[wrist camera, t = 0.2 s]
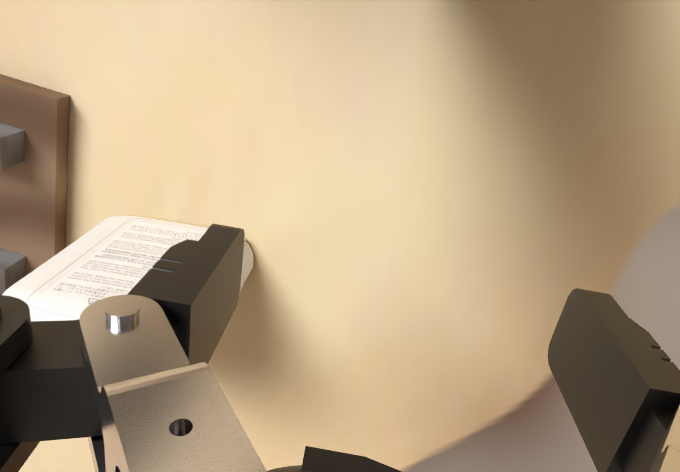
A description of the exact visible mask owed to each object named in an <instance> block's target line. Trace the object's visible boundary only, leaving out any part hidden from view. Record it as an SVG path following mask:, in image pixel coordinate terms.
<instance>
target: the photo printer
mask: <svg viewBox="0 0 680 472" xmlns="http://www.w3.org/2000/svg"><path fill="white" fill-rule="evenodd" d="M207 230H208V228H206V227H199V226H194V225H188V224H182V223H176V222H170V221H163V220H158V219H151V218H144V217H135V216H120V215H119V216H112V217H109V218H107V219H105V220H104V221H102V222H101V223H100V224H98V225H97V226H96V227H94V228H93V229H91V230H90V231H89V232H87V233H86V234H84V235H83V236H82V237H80V238H79V239H77V240H76V241H75V242H73V243H72V244H70V245H69V246H68V247H66V248H65V249H63V250H62V251H61V252H59V253H58V254H56V255H55V256H53V257H52V258H51V259H49V260H48V261H46V262H45V263H43V264H42V265H41V266H39V267H38V268H36V269H35V270H34V271H32V272H31V273H29V274H28V275H26V276H25V277H24V278H22V279H21V280H19V281H18V282H16V283H15V284H13V285H12V286H11V287H9V288H8V289H7V290H6V291H5V292H4V293H3V294H2V295H6V296H12V297H15V298H18V299H21V300H22V301H24V302H25V303H26V304H27V305H28V306H29V309H30V317H31V321H65V320H78V319H80V315H81V313H82V312H83V310H84V309H85V308H86V307H88V306H89V305H90V304H92V303H94V302H96V301H98V300H100V299H103V298H107V297H111V296H117V295H127V294H128V293H129V292H130V291H131V289H132V288H133V287H134V286H135V285H136V284H137V283H138V282H139V281H140V280H141V279H142V277H143V276H144V275H145V274H146V273H147V272H148V271H149V270H150V269H152V266H153V265H154V264H155V263H156V262H157V261H158V260H160V258H161V257H162V256H163V254H164V253H165V252H166V251H167V250H168V249H169V248H170V247H171V246H173V245H176V244H178V243H180V242H182V241H184V240H187V239H189V240H195V241H199V240H200V238H201V237H202V236H203V235H204V233H205V232H206V231H207ZM245 241H246V239H245V238H244V250H243V262H242V274H241V285H240V291H241V290H242V288H243V285H244V282H245V280H246V279H247V277H248V275H249V274H250V272H251V270H252V268H253V263H254V258H253V253H252V250H251V248H250V246H249V244H248V243H247V242H245ZM239 293H240V292H239Z"/></svg>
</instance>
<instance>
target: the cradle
mask: <svg viewBox="0 0 680 472" xmlns="http://www.w3.org/2000/svg"><path fill="white" fill-rule="evenodd" d="M69 101H70V96H69V95H66V94H63V93H59V92H56V91H53V90H50V89H46V88H43V87H40V86H37V85H33V84H30V83H27V82H24V81H20V80H17V79H14V78H11V77H7V76H4V75H1V74H0V295H2V294H3V293H4V292H5V291H6V290H7V289H8V288H9V287H11V286H12V285H13V284H15V283H16V282H18V281H19V280H21V279H22V278H24V277H25V276H26V275H28V274H29V273H31V272H32V271H34V270H35V269H36V268H38V267H39V266H41V265H42V264H43V263H45V262H46V261H48V260H49V259H51V258H52V257H53V256H55V255H56V254H58V253H59V252H61V251H62V250H63V249H65V238H66V204H67V170H68V135H69Z"/></svg>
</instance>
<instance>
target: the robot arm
mask: <svg viewBox="0 0 680 472" xmlns="http://www.w3.org/2000/svg"><path fill="white" fill-rule="evenodd" d="M243 250H244V230H243V229H240V228H234V227H229V226H223V225H217V224H212V225H211V226H210V227H209V228H208V230H207V231H206V232H205V233H204V235H203V236H202V237H201V238H200V240H199V241H195V240H189V239H187V240H184V241H182V242H180V243H178V244H176V245H173V246H171V247H170V248H169V249H168V250H167V251H166V252H165V253H164V254H163V256H162V257H161V258H160V260H158V261H157V262H156V263H155V264H154V265H153V266H152V269H150V270H149V271H148V272H147V273H146V274H145V275H144V276H143V277H142V279H141V280H140V281H139V282H138V283H137V284H136V285H135V286H134V287H133V288H132V289H131V291H130V292H129V293H128V294H127V295H117V296H111V297H107V298H103V299H100V300H98V301H96V302H94V303H92V304H90V305H89V306H88V307H86V308H85V309H84V310H83V312H82V313H81V315H80V319H78V320H65V321H31V317H30V309H29V306H28V305H27V304H26V303H25V302H24V301H22V300H21V299H18V298H15V297H12V296H6V295H0V472H18V471H19V470H20V468H21V467H22V466H23V464H24V463H25V461H26V460H27V459H28V457H29V456H30V455H31V453H32V452H33V450H34V449H35V448H36V446H37V445H38V443H39V442H40V441H47V440H58V439H70V438H81V437H88V441H89V446H90V450H91V454H92V459H93V463H94V468H95V472H401V471H399V470H396V469H394V468H392V467H389V466H387V465H384V464H382V463H379V462H377V461H374V460H372V459H369V458H367V457H363V456H358V455H352V454H347V453H341V452H336V451H330V450H325V449H319V448H314V447H308V446H306V447H305V453H304V458H303V464H302V465H300V466H288V467H282V468H276V469H272V470H269V471H266V469H265V467H264V466H263V464H262V462H261V460H260V458H259V456H258V455H257V453H256V451H255V449H254V447H253V446H252V444H251V442H250V440H249V438H248V437H247V435H246V433H245V431H244V429H243V427H242V426H241V424H240V422H239V420H238V418H237V417H236V415H235V413H234V411H233V409H232V408H231V406H230V404H229V402H228V400H227V398H226V397H225V395H224V393H223V391H222V389H221V388H220V386H219V384H218V382H217V380H216V379H215V377H214V375H213V373H212V371H211V370H210V368H209V366H208V365H207V364H208V362H209V360H210V358H211V356H212V354H213V352H214V350H215V348H216V346H217V344H218V342H219V340H220V338H221V336H222V334H223V332H224V330H225V328H226V326H227V324H228V322H229V320H230V318H231V316H232V314H233V312H234V310H235V308H236V305H237V301H238V297H239V292H240V285H241V274H242V262H243ZM670 360H671V359H670V358H669V357H668V356H667V354H666V353H665V352H664V351H663V350H660V346H659V345H658V343H657V342H656V341H655V340H654V339H653V337H652V336H651V335H650V334H649V332H647V331H646V330H645V329H643V328H642V327H641V326H639V325H638V324H637V323H635V322H634V321H632V320H631V319H630V318H628V316H627V315H626V314H625V313H624V311H623V310H622V309H621V307H620V306H619V305H618V304H617V302H616V301H615V300H614V299H613V297H612V296H611V295H609V294H605V293H599V292H594V291H588V290H582V289H574V290H573V291H572V292H571V293H570V295H569V296H568V299H567V301H566V304H565V306H564V309H563V311H562V314H561V316H560V318H559V321H558V323H557V326H556V328H555V331H554V333H553V336H552V338H551V341H550V344H549V349H548V362H549V366H550V369H551V371H552V373H553V375H554V378H555V380H556V381H557V384H558V386H559V388H560V391H561V393H562V395H563V397H564V399H565V401H566V404H567V406H568V408H569V410H570V412H571V414H572V417H573V419H574V421H575V423H576V425H577V427H578V429H579V432H580V434H581V436H582V438H583V440H584V443H585V445H586V447H587V449H588V451H589V453H590V455H591V458H592V460H593V462H594V464H595V466H596V469H597V471H598V472H680V370H679V369H678V368H677V367H676V365H674V363H673V362H670Z"/></svg>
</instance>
